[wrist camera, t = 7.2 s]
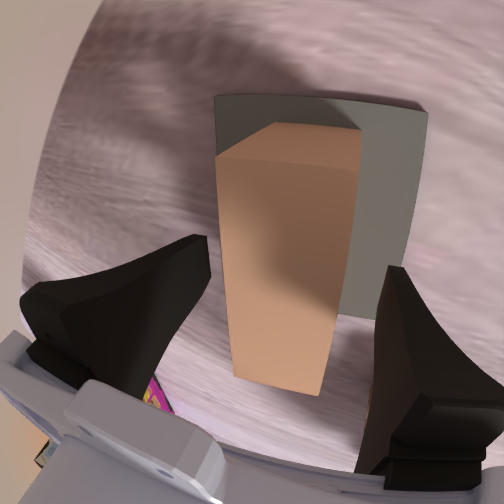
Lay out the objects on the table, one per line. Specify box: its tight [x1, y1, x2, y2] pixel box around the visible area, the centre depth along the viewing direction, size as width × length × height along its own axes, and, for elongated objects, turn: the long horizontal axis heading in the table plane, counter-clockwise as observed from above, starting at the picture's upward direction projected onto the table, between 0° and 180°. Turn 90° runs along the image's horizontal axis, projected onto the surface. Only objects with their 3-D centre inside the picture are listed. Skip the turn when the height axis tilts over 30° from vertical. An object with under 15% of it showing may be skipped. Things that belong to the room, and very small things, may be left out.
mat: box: [214, 95, 428, 320], centre depth 16 cm, size 12×10×1 cm
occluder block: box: [215, 122, 362, 396], centre depth 14 cm, size 10×4×6 cm, turn 2°
